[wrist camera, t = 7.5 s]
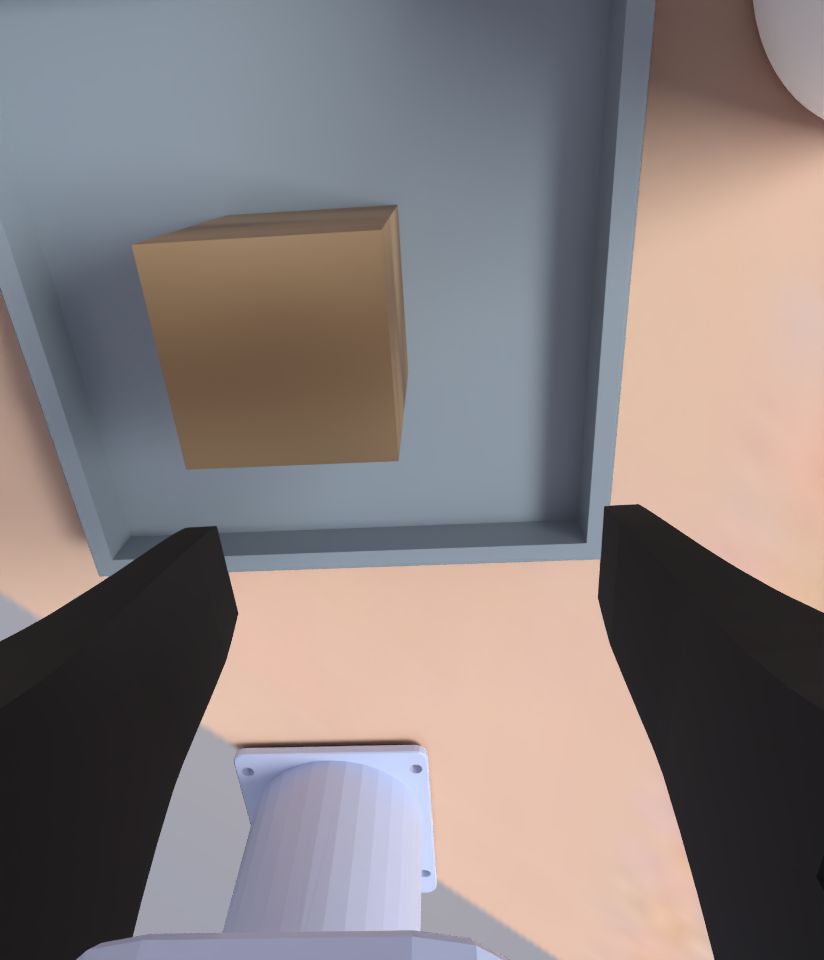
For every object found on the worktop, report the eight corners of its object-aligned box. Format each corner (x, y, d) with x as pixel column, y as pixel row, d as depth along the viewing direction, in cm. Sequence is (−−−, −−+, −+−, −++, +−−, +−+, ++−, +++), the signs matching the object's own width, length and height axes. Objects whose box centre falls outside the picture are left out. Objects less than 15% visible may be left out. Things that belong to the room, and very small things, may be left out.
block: (408, 372, 19) (398, 461, 13) (255, 379, 19) (185, 469, 14) (397, 204, 17) (381, 230, 11) (226, 215, 17) (131, 244, 12)
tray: (590, 525, 22) (605, 559, 20) (125, 542, 22) (99, 576, 21) (638, -93, 14) (667, -128, 12) (-53, -33, 15) (-118, -57, 13)
